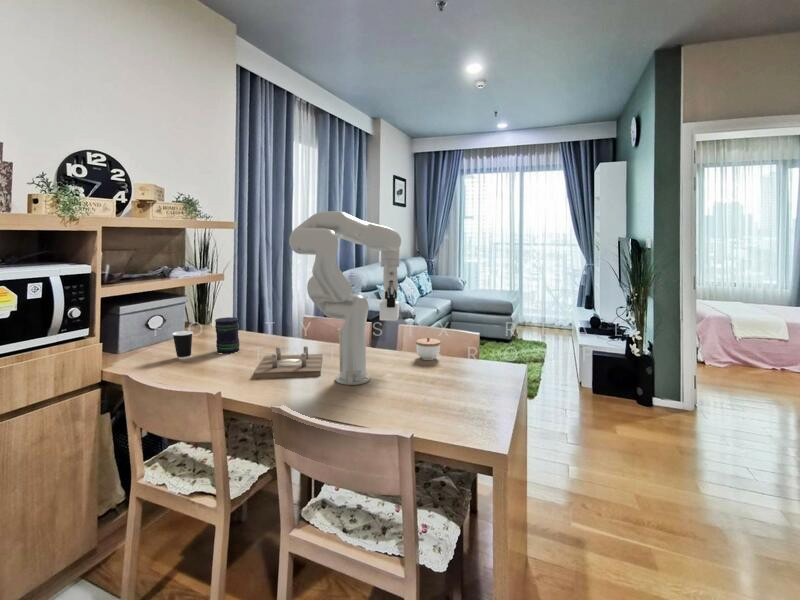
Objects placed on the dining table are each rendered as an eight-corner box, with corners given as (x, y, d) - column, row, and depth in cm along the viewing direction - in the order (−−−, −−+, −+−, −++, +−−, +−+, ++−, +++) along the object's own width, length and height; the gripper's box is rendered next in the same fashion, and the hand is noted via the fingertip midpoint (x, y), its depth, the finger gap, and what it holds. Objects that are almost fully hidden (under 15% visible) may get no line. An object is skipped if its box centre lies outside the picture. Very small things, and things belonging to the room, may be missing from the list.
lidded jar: (413, 360, 180) (413, 339, 179) (418, 354, 191) (418, 334, 190) (438, 362, 178) (438, 340, 177) (441, 356, 188) (442, 335, 187)
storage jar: (217, 349, 196) (216, 317, 194) (240, 348, 199) (239, 316, 197) (215, 354, 187) (213, 321, 185) (239, 353, 189) (237, 320, 187)
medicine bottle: (398, 318, 177) (399, 289, 175) (396, 321, 170) (397, 291, 168) (381, 317, 178) (382, 289, 176) (379, 320, 171) (379, 290, 169)
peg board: (320, 375, 159) (320, 357, 158) (254, 378, 155) (253, 359, 154) (322, 358, 182) (322, 342, 181) (265, 360, 179) (264, 344, 178)
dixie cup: (198, 356, 184) (197, 331, 182) (182, 361, 176) (181, 335, 175) (185, 354, 187) (184, 330, 185) (169, 359, 180) (167, 333, 178)
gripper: (402, 264, 163) (401, 308, 165) (396, 262, 180) (395, 303, 182) (383, 264, 162) (382, 309, 164) (378, 262, 179) (378, 303, 181)
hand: (389, 305), depth 173 cm, fingers closed on medicine bottle, 8 cm apart
